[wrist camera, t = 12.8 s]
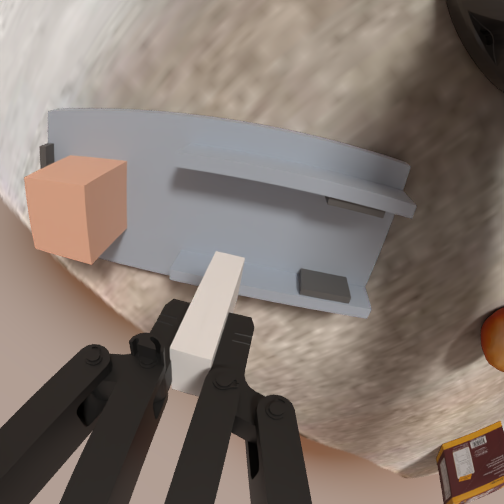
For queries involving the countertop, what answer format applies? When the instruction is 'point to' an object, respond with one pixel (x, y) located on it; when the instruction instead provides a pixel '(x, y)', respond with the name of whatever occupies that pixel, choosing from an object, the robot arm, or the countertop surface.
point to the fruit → (494, 339)
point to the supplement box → (472, 465)
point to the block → (78, 206)
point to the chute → (243, 201)
